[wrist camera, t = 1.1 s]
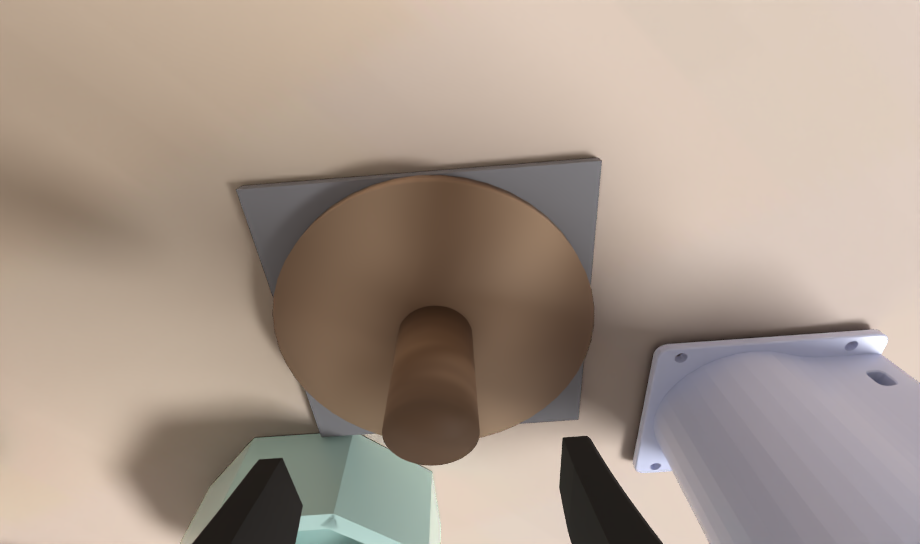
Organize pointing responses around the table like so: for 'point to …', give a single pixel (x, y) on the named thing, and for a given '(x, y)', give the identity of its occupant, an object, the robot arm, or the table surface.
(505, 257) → the lid
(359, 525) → the bowl
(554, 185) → the mat
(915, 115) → the table surface
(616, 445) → the table surface
